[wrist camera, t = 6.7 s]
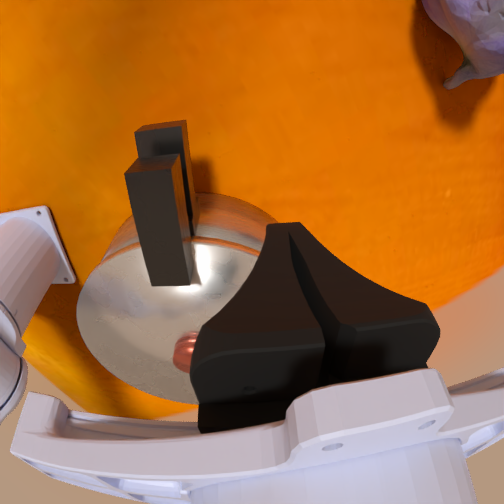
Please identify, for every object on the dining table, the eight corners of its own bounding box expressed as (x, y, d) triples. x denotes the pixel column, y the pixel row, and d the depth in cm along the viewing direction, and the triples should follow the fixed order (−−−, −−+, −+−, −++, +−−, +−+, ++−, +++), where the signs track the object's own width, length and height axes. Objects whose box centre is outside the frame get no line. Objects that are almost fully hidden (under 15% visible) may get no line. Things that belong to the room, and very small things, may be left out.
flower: (534, 148, 13) (578, 26, 4) (423, 116, 16) (437, -33, 7) (502, 77, 17) (519, -20, 8) (413, 53, 19) (413, -52, 11)
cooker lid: (306, 393, 27) (310, 416, 25) (124, 393, 27) (119, 416, 24) (346, 145, 14) (365, 164, 12) (21, 175, 14) (-5, 195, 12)
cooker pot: (296, 340, 32) (305, 389, 27) (138, 345, 32) (127, 391, 27) (309, 103, 18) (336, 121, 13) (66, 131, 18) (19, 160, 13)
